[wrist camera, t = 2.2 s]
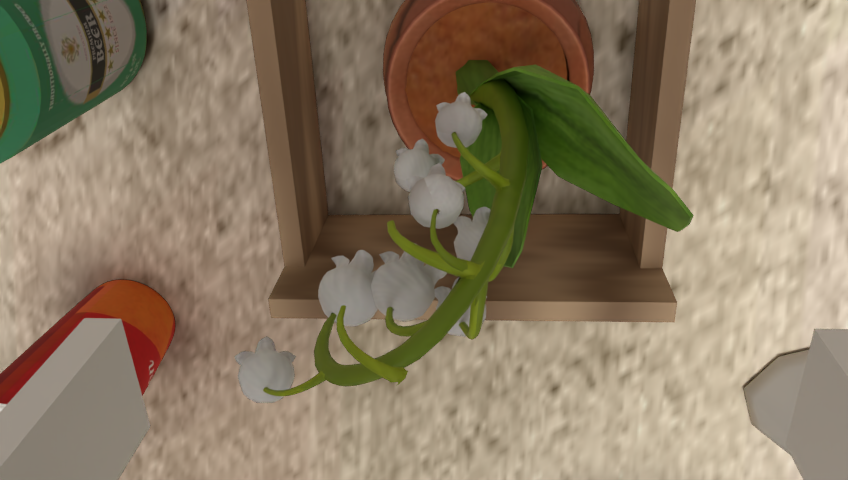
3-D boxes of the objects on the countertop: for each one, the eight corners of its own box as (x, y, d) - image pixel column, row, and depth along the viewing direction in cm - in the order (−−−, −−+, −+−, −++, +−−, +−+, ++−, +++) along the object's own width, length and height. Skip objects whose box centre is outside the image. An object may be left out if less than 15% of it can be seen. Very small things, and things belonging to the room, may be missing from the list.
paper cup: (105, 377, 47) (-31, 558, 35) (48, 277, 44) (-123, 437, 32) (214, 356, 46) (113, 537, 34) (163, 251, 43) (30, 409, 30)
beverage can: (171, 91, 38) (49, 177, 28) (28, 98, 39) (-144, 185, 28) (133, -74, 35) (-25, -48, 24) (-24, -62, 35) (-243, -32, 25)
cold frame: (312, 230, 41) (271, 317, 33) (270, -124, 33) (201, -121, 25) (636, 230, 40) (674, 322, 32) (675, -141, 32) (739, -144, 24)
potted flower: (415, 200, 40) (325, 615, 18) (317, 36, 36) (51, 302, 14) (621, 102, 37) (826, 463, 14) (536, -89, 33) (639, 2, 11)
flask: (891, 404, 44) (994, 541, 35) (778, 457, 46) (847, 597, 37) (836, 323, 42) (931, 446, 33) (720, 382, 44) (780, 512, 35)
